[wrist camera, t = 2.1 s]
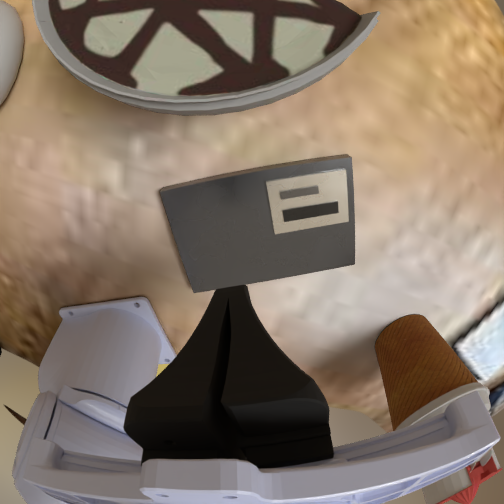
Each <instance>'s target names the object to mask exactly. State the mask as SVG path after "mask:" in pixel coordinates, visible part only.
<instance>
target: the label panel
mask: <svg viewBox="0 0 504 504" xmlns="http://www.w3.org/2000/svg"><path fill="white" fill-rule="evenodd" d="M160 195H161V198H162V201H163V204H164V207H165V211H166V214H167V217H168V220H169V223H170V226H171V229H172V232H173V235H174V238H175V241H176V244H177V247H178V250H179V253H180V256H181V259H182V262H183V265H184V267H185V270H186V273H187V276H188V279H189V281H190V284H191V287H192V290H193V292H194V293H197V292H204V291H210V290H216V289H220V288H226V287H232V286H238V285H246V284H252V283H257V282H263V281H269V280H274V279H280V278H286V277H291V276H297V275H302V274H307V273H313V272H318V271H323V270H329V269H334V268H339V267H344V266H349V265H354V264H355V214H354V187H353V169H352V157H350V156H349V155H348V154H346V155H338V156H330V157H322V158H315V159H308V160H301V161H295V162H288V163H282V164H276V165H270V166H264V167H259V168H253V169H248V170H242V171H237V172H232V173H227V174H222V175H217V176H212V177H207V178H203V179H198V180H194V181H189V182H185V183H180V184H176V185H172V186H168V187H163V188H162V189H161V191H160Z"/></svg>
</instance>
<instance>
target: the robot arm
mask: <svg viewBox="0 0 504 504" xmlns="http://www.w3.org/2000/svg"><path fill="white" fill-rule="evenodd" d="M136 303H139V304H136ZM59 314H60V316H61V317H62V319H63V320H62V322H61V324H60V326H59V328H58V330H57V332H56V333H55V335H54V337H53V339H52V341H51V343H50V345H49V347H48V349H47V351H46V353H45V355H44V357H43V360H42V362H41V364H40V367H39V374H38V384H39V390H40V394H39V395H38V396H37V398H36V400H35V402H34V404H33V406H32V408H31V411H30V413H29V416H28V418H27V420H26V423H25V425H24V428H23V431H22V434H21V437H20V440H19V444H18V447H17V452H16V457H15V461H14V465H13V471H12V476H13V478H14V485H15V487H16V489H17V490H18V492H19V493H20V495H21V496H22V497H23V499H24V500H25V501H26V503H27V504H382V503H385V502H387V501H390V500H393V499H396V498H398V497H401V496H403V495H406V494H408V493H411V492H413V491H416V490H418V489H420V488H423V487H425V486H427V485H429V484H432V483H434V482H436V481H438V480H440V479H442V478H444V477H447V476H449V475H451V474H453V473H455V472H457V471H459V470H461V469H463V468H465V467H466V466H468V465H470V464H472V463H474V462H475V461H476V460H478V459H479V458H480V457H481V456H482V455H483V454H485V453H486V452H487V451H488V450H489V449H490V448H492V447H493V446H494V445H495V444H496V443H497V442H498V441H499V440H500V436H499V434H498V431H497V430H496V427H495V425H494V423H493V421H492V418H491V416H490V414H489V412H488V410H487V408H486V406H485V404H484V402H483V400H482V398H481V396H480V394H479V392H478V391H473V392H471V393H469V394H467V395H465V396H463V397H461V398H458V399H456V400H454V401H453V402H451V403H450V404H449V405H448V406H447V408H446V410H445V412H444V413H442V414H439V415H437V416H434V417H432V418H429V419H427V420H424V421H421V422H419V423H416V424H413V425H410V426H408V427H405V428H402V429H399V430H396V431H393V432H390V433H386V434H383V435H380V436H376V437H373V438H370V439H366V440H362V441H358V442H354V443H350V444H347V445H342V446H338V447H333V446H332V440H331V436H330V434H331V432H330V427H329V406H328V404H327V401H326V399H325V397H324V395H323V393H322V392H321V390H320V389H319V387H318V386H317V384H316V383H315V381H314V380H313V379H312V378H311V377H310V376H309V375H307V374H306V373H305V372H304V371H302V370H301V369H300V368H299V367H298V366H297V365H296V364H294V363H293V362H292V361H291V360H290V359H289V358H288V357H287V356H286V354H285V353H284V352H283V351H282V350H281V349H280V348H279V347H278V346H277V344H276V343H275V342H274V341H273V339H272V338H271V337H270V335H269V334H268V332H267V331H266V330H265V328H264V326H263V325H262V323H261V322H260V320H259V318H258V316H257V314H256V312H255V310H254V308H253V306H252V304H251V300H250V296H249V291H248V287H247V286H246V285H238V286H232V287H226V288H220V289H216V291H215V292H214V295H213V297H212V299H211V301H210V303H209V305H208V307H207V309H206V311H205V313H204V315H203V317H202V319H201V321H200V323H199V324H198V326H197V328H196V329H195V331H194V332H193V334H192V336H191V337H190V339H189V340H188V342H187V343H186V344H185V346H184V347H183V348H182V350H181V351H180V352H179V354H178V355H176V353H175V351H174V350H173V348H172V346H171V344H170V342H169V340H168V338H167V336H166V334H165V332H164V330H163V328H162V326H161V325H160V323H159V321H158V319H157V316H156V314H155V312H154V310H153V308H152V306H151V304H150V302H149V300H148V299H147V298H145V297H136V298H129V299H123V300H116V301H108V302H101V303H94V304H87V305H79V306H72V307H64V308H61V309H60V311H59ZM169 363H170V364H169ZM158 364H169V365H168V366H167V367H166V369H164V370H163V371H162V372H161V373H160V374H159V375H158V376H157V377H156V374H157V368H158Z"/></svg>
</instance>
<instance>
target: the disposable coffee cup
mask: <svg viewBox="0 0 504 504" xmlns="http://www.w3.org/2000/svg"><path fill="white" fill-rule="evenodd" d="M375 351H376V354H377V358H378V362H379V366H380V371H381V375H382V379H383V383H384V388H385V393H386V397H387V402H388V406H389V412H390V416H391V422H392V426H393V431H396V430H399V429H402V428H405V427H408V426H410V425H413V424H416V423H419V422H421V421H424V420H427V419H429V418H432V417H434V416H437V415H439V414H442V413H444V412H445V410H446V408H447V406H448V405H449V404H450V403H451V402H453V401H454V400H456V399H458V398H461V397H463V396H465V395H467V394H469V393H471V392H473V391H478V392H479V394H480V396H481V398H482V400H483V402H484V404H485V406H486V408H487V410H488V412H489V409H490V401H489V397H488V396H489V389H488V388H487V387H485V386H483V385H482V384H481V383H478V382H477V380H476V379H475V377H474V376H473V375H472V374H471V372H470V371H469V370H468V369H467V367H466V366H465V365H464V363H463V362H462V361H461V360H460V358H459V357H458V356H457V355H456V353H455V352H454V351H453V350H452V348H451V347H450V346H449V345H448V344H447V343H446V341H445V340H444V339H443V338H442V336H441V335H440V334H439V333H438V332H437V331H436V329H435V328H434V327H433V326H432V325H431V323H430V322H429V321H428V320H427V319H426V318H425V317H424V316H422V315H408V316H405V317H402V318H400V319H398V320H396V321H394V322H393V323H392V324H390V325H389V326H388V327H386V328H385V329H384V330H383V331H382V333H381V334H380V335H379V337H378V338H377V340H376V343H375Z"/></svg>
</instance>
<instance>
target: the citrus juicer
mask: <svg viewBox="0 0 504 504" xmlns="http://www.w3.org/2000/svg"><path fill="white" fill-rule="evenodd" d="M501 470H502V468H500V465H499V463H498V460H497V458H496V455H495V453H494V450H493V448H490V449H489V450H488V451H487V452H486V453H485V454H483V455H482V456H481V457H480V458H479V459H478V460H476V461H475V462H474V463H472V464H470V465H468V466H466V467H465V468H463V469H461V470H459V471H457V472H455V473H453V474H451V475H449V476H447V477H444V478H442V479H440V480H438V481H436V482H434V483H432V484H429V485H427V486H425V487H423V488H422V491H423V494H424V497H425V501H426V504H443V503H445V502H447V501H449V500H451V499H452V500H454V501H456V502H459V503H462V504H470V503H471V502H472V500H473V499H474V497H475V495H476V493H477V490H478V487H479V484H481V483H482V482H484V481H486V480H487V479H489V478H490V477H492V476H493V475H495V474H496V473H498V472H499V471H501Z"/></svg>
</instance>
